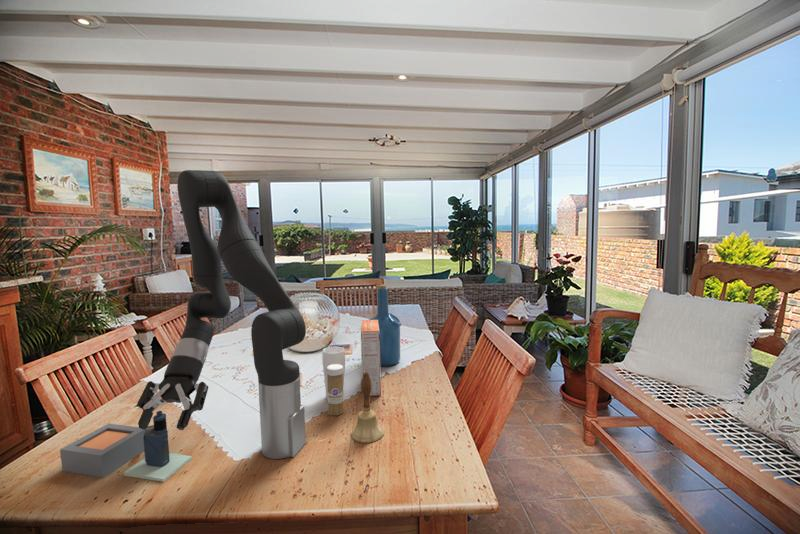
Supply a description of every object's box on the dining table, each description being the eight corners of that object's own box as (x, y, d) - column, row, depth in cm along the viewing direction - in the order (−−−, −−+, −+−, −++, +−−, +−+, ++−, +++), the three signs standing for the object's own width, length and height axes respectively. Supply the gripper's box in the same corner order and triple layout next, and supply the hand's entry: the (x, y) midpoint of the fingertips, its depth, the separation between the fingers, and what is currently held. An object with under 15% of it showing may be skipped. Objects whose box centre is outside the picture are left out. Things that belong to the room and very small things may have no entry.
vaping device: (163, 468, 82) (159, 415, 81) (142, 465, 83) (138, 413, 82) (172, 461, 85) (168, 409, 83) (152, 458, 86) (148, 407, 85)
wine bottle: (362, 366, 142) (360, 287, 139) (370, 354, 155) (369, 282, 152) (398, 368, 140) (397, 288, 137) (403, 356, 153) (403, 282, 150)
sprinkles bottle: (329, 417, 105) (328, 370, 103) (326, 410, 109) (324, 364, 107) (346, 414, 106) (344, 367, 105) (342, 407, 111) (340, 362, 109)
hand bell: (344, 434, 96) (342, 373, 94) (368, 422, 102) (367, 364, 100) (366, 447, 91) (365, 382, 89) (390, 433, 97) (389, 372, 95)
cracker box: (362, 379, 131) (361, 319, 129) (379, 378, 131) (378, 319, 129) (361, 397, 117) (360, 330, 115) (381, 396, 117) (380, 330, 115)
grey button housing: (148, 448, 91) (146, 428, 90) (103, 477, 80) (101, 455, 80) (110, 442, 93) (108, 423, 93) (62, 471, 82) (59, 449, 82)
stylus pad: (192, 458, 87) (192, 456, 86) (163, 481, 79) (163, 479, 79) (155, 453, 89) (155, 451, 89) (123, 475, 81) (123, 472, 81)
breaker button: (133, 445, 89) (132, 433, 89) (104, 464, 82) (103, 451, 82) (108, 442, 91) (107, 430, 90) (78, 460, 84) (77, 447, 84)
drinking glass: (335, 404, 113) (334, 354, 111) (318, 398, 116) (317, 351, 115) (350, 395, 118) (349, 348, 117) (333, 390, 122) (332, 344, 120)
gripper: (151, 353, 92) (119, 423, 82) (209, 354, 92) (184, 424, 81) (167, 366, 98) (139, 433, 88) (221, 367, 97) (200, 434, 87)
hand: (161, 428), depth 85 cm, fingers open, 8 cm apart
